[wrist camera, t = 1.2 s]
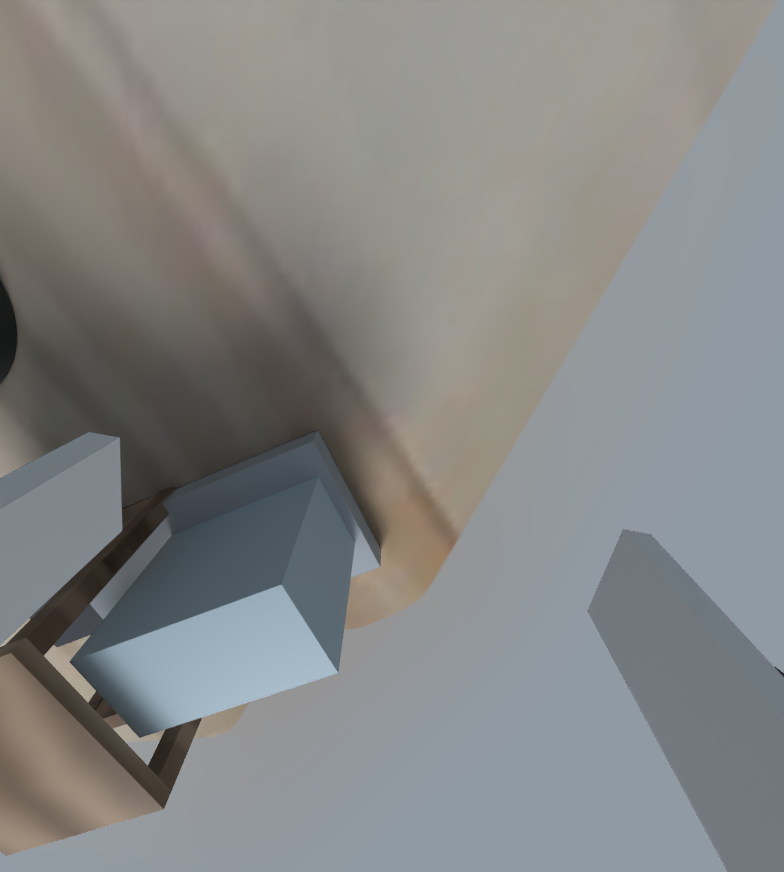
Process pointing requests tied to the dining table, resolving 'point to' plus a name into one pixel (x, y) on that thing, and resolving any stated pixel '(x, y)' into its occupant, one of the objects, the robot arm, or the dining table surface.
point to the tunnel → (75, 721)
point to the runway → (242, 489)
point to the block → (227, 613)
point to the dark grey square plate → (78, 625)
